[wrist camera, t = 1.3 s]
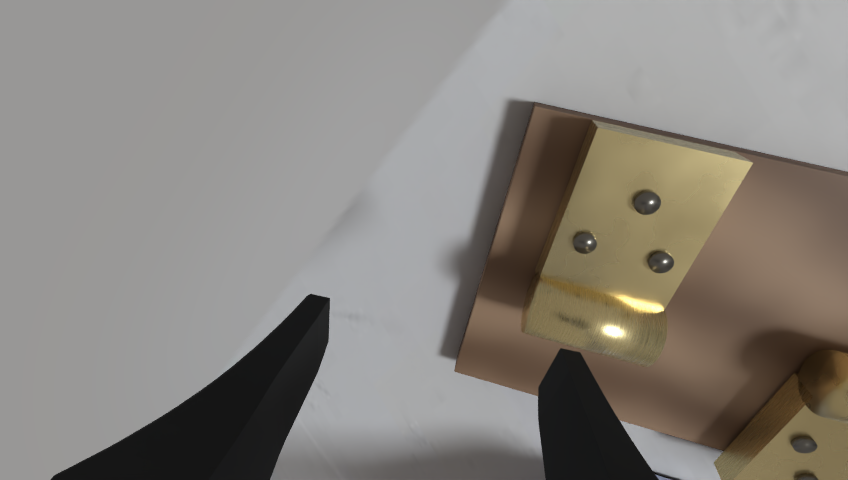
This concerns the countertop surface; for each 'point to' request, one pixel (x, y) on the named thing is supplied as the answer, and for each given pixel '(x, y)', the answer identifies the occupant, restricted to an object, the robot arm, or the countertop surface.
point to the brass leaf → (627, 240)
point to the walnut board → (680, 290)
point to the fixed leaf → (797, 428)
